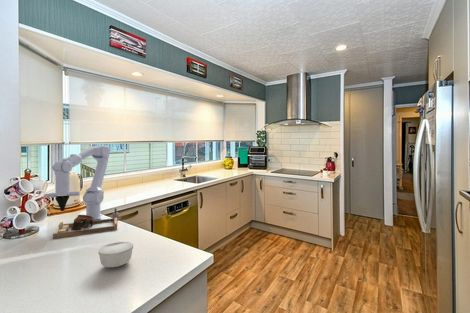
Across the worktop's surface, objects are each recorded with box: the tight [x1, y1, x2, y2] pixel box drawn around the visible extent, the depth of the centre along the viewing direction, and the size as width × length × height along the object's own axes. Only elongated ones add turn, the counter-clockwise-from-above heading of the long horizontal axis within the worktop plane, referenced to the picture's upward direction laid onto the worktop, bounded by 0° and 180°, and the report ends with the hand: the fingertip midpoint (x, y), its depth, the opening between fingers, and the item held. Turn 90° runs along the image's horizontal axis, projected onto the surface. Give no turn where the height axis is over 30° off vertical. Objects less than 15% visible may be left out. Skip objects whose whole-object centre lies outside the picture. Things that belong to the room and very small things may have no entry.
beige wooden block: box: [56, 221, 70, 233], centre depth 113 cm, size 11×3×4 cm, turn 28°
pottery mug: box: [70, 214, 94, 231], centre depth 118 cm, size 12×9×8 cm
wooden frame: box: [52, 207, 119, 239], centre depth 118 cm, size 18×27×8 cm, turn 118°
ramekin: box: [97, 241, 134, 268], centre depth 81 cm, size 11×11×5 cm
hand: (62, 210), depth 116 cm, fingers closed
